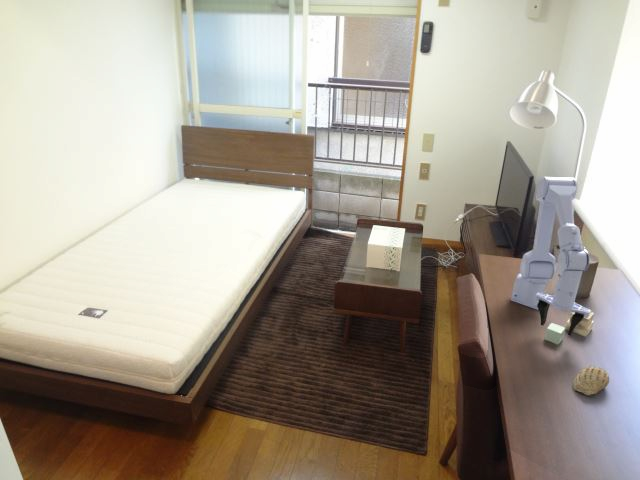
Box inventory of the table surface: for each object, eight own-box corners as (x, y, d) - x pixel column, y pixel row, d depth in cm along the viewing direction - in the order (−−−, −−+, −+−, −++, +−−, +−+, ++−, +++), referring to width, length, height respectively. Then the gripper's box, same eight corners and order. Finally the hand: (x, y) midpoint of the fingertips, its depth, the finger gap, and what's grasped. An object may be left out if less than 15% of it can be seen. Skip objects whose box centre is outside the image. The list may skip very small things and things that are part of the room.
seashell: (603, 409, 123) (608, 375, 128) (608, 398, 119) (613, 364, 124) (569, 398, 126) (575, 365, 132) (574, 387, 122) (580, 354, 128)
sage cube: (544, 339, 145) (547, 328, 144) (548, 333, 148) (551, 322, 146) (558, 344, 143) (561, 333, 141) (562, 339, 146) (565, 327, 144)
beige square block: (569, 321, 149) (571, 313, 148) (574, 315, 153) (576, 306, 152) (586, 327, 146) (588, 319, 145) (591, 321, 150) (594, 313, 148)
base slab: (565, 330, 150) (567, 321, 149) (571, 322, 154) (573, 314, 153) (585, 337, 147) (588, 329, 146) (591, 329, 151) (593, 321, 150)
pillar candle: (591, 289, 173) (601, 251, 167) (588, 301, 166) (599, 262, 160) (561, 282, 178) (570, 245, 172) (557, 293, 170) (566, 255, 164)
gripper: (535, 285, 140) (526, 325, 145) (589, 303, 131) (578, 344, 137) (543, 277, 145) (535, 315, 150) (596, 293, 136) (585, 334, 141)
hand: (556, 328), depth 144 cm, fingers open, 7 cm apart
